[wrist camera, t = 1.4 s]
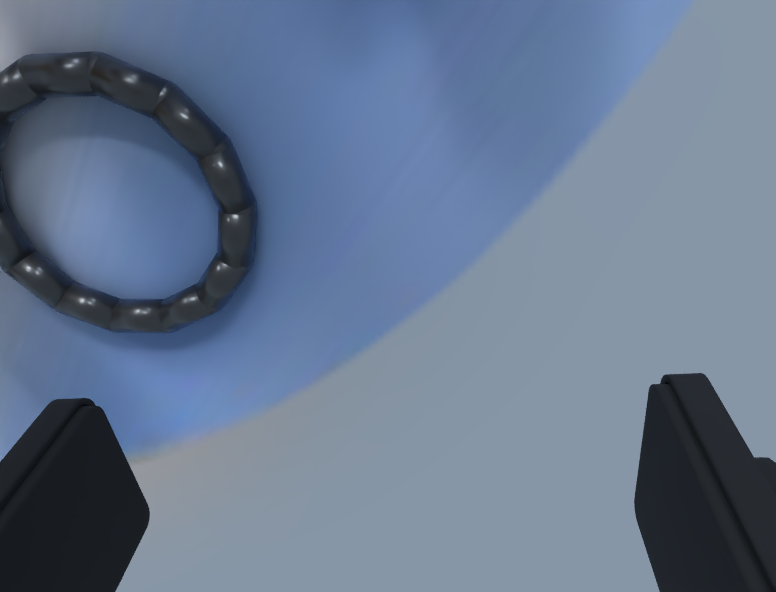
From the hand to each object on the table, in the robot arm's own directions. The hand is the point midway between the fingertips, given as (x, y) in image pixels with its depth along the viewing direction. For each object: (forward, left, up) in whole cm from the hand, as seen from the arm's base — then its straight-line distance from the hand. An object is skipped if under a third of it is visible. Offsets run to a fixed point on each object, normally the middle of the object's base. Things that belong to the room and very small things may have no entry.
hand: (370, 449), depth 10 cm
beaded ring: (-10, -14, -22) cm, 28 cm away
